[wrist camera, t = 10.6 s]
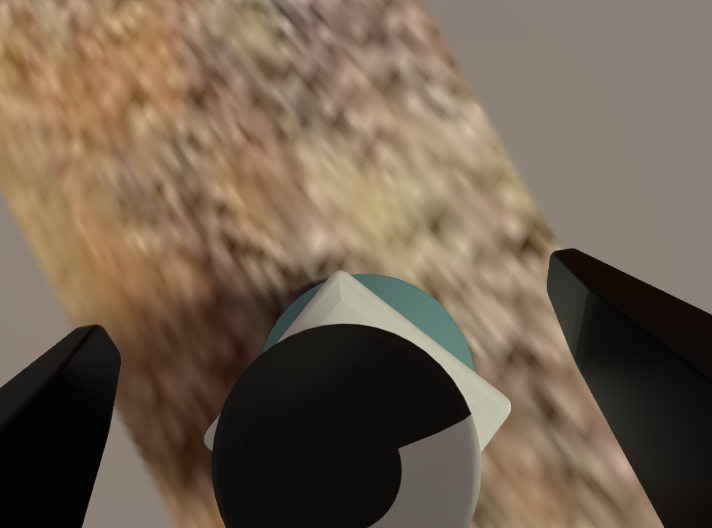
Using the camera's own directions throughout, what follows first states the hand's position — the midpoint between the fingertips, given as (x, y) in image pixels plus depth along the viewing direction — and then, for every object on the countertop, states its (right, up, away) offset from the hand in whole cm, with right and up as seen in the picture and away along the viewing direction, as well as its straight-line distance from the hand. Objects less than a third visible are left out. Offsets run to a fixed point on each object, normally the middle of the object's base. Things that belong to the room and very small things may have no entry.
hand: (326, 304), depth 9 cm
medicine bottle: (+1, -5, +12) cm, 14 cm away
